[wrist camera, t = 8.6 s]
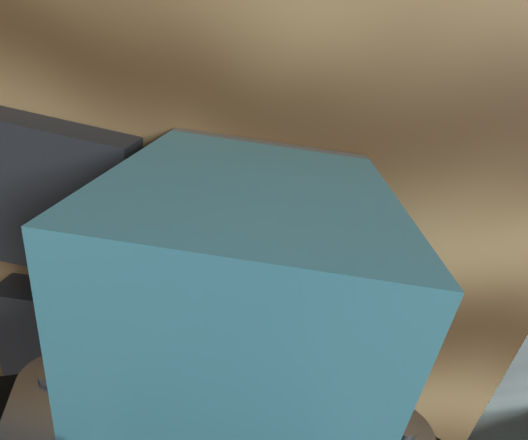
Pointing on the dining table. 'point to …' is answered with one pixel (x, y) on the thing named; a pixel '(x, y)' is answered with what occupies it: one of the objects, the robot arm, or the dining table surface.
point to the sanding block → (235, 296)
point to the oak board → (327, 123)
